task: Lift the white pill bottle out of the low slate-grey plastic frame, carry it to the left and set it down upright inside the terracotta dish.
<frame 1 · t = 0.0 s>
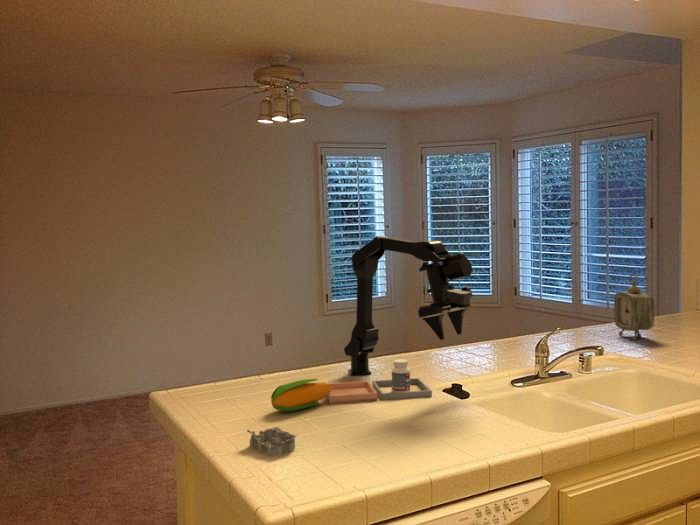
hand: (451, 336, 186), 15 cm above the counter, tool pointing down, fingers open, 9 cm apart
egg carton: (272, 449, 145), on the counter
terracotta dish: (350, 395, 185), on the counter
grey frame: (401, 391, 188), on the counter
pill bottle: (401, 391, 188), resting in grey frame
corn: (303, 407, 175), on the counter, touching terracotta dish
tabletop clock: (634, 338, 256), on the counter
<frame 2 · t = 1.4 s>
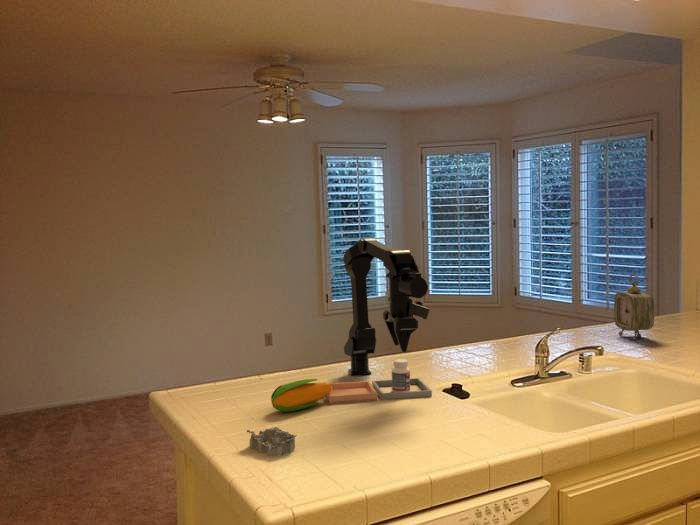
hand: (400, 348, 187), 12 cm above the counter, tool pointing down, fingers open, 9 cm apart
nothing on the counter moved.
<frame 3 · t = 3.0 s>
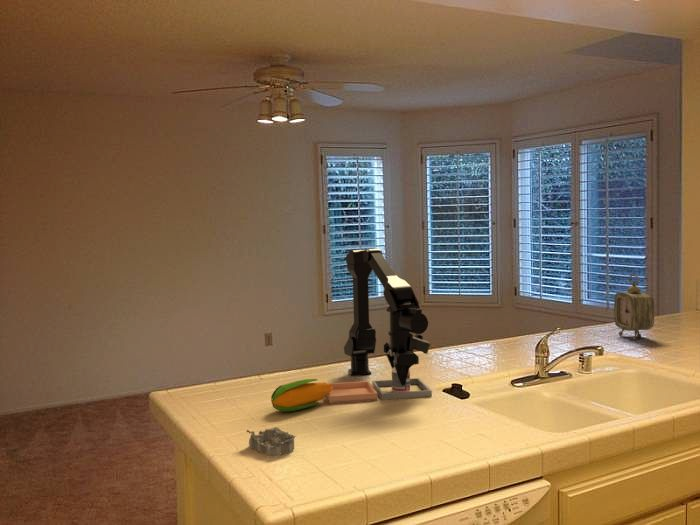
hand: (400, 382, 188), 3 cm above the counter, tool pointing down, fingers closed on pill bottle, 5 cm apart
pill bottle: (401, 391, 188), resting in grey frame, touching gripper
everything else where it was.
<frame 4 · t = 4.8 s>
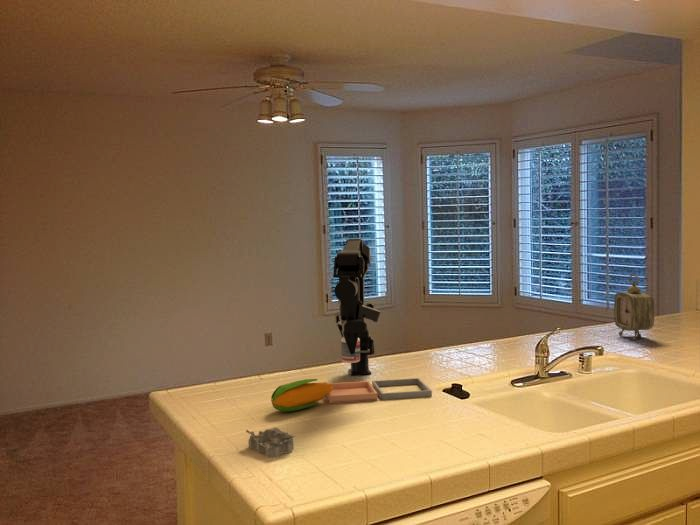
hand: (350, 351, 184), 12 cm above the counter, tool pointing down, fingers closed on pill bottle, 5 cm apart
pill bottle: (350, 361, 184), point 10 cm above the counter, touching gripper
everything else where it was.
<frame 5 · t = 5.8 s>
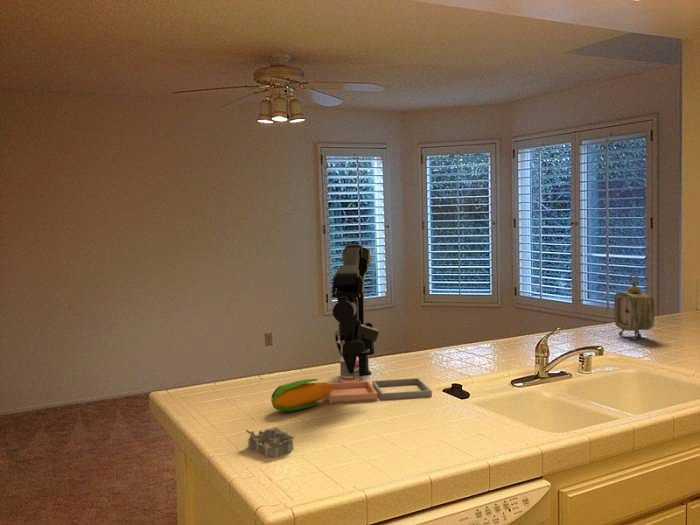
hand: (349, 371, 184), 7 cm above the counter, tool pointing down, fingers closed on pill bottle, 5 cm apart
pill bottle: (349, 380, 185), point 4 cm above the counter, touching gripper
everything else where it was.
when the fingers open (4 cm above the counter, at t = 6.7 s): pill bottle drops 1 cm, resting on terracotta dish.
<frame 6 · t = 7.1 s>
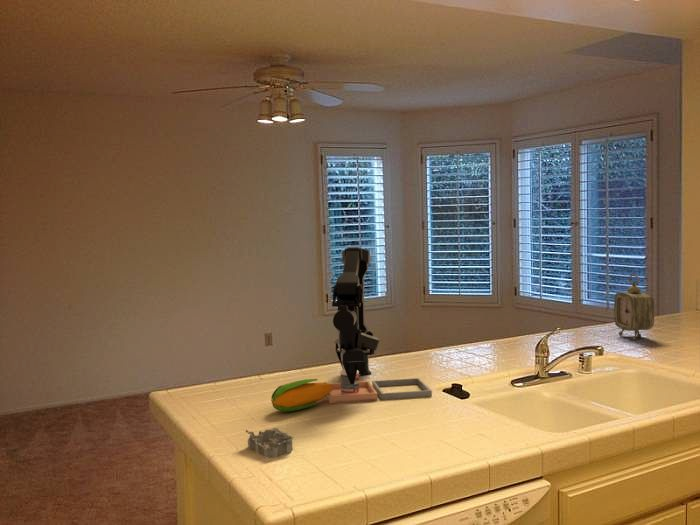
hand: (349, 379, 184), 4 cm above the counter, tool pointing down, fingers open, 9 cm apart
pill bottle: (350, 394, 185), resting on terracotta dish
everything else where it was.
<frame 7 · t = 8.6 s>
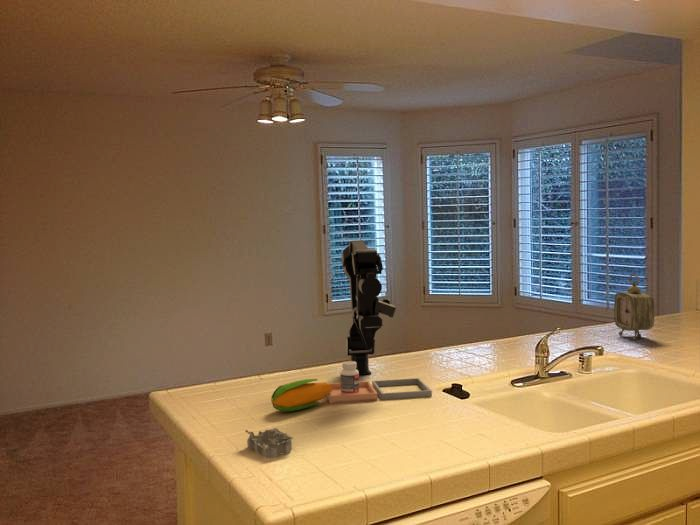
hand: (367, 345, 191), 13 cm above the counter, tool pointing down, fingers open, 9 cm apart
nothing on the counter moved.
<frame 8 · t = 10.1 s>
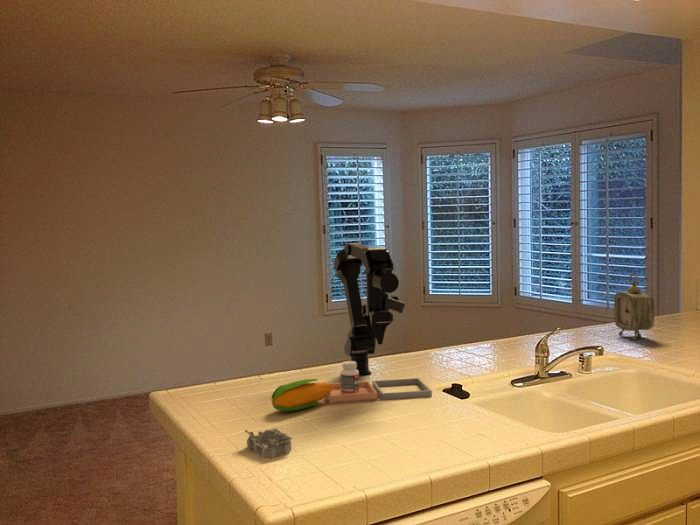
hand: (377, 341, 195), 13 cm above the counter, tool pointing down, fingers open, 9 cm apart
at the end: pill bottle inside the target area on the terracotta dish (0.1 cm from its centre), point 0.3 cm above the terracotta dish's base; pill bottle tilted 0°; the gripper is holding nothing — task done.
